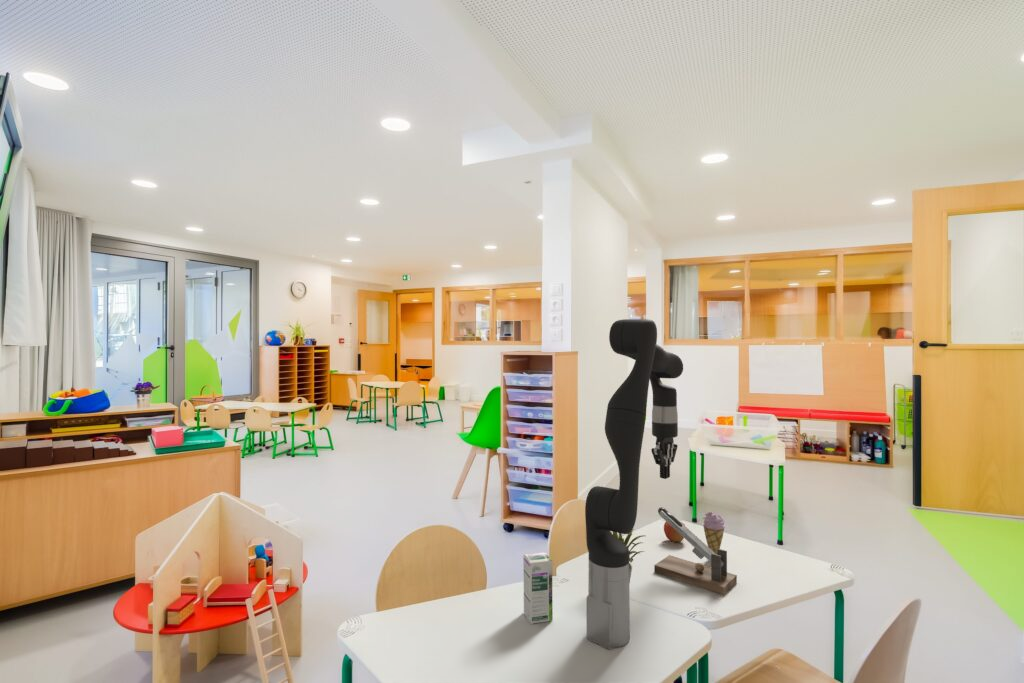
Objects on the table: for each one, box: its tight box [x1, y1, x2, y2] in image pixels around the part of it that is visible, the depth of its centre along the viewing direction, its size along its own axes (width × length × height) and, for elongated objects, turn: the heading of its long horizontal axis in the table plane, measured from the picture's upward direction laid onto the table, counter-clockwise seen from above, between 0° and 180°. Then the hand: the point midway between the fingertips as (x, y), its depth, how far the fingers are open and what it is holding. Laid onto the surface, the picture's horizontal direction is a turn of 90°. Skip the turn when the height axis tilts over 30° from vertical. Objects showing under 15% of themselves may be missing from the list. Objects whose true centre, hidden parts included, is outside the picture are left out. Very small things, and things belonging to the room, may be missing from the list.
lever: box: [657, 507, 725, 567], centre depth 141 cm, size 3×22×4 cm
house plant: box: [612, 528, 645, 585], centre depth 132 cm, size 14×14×16 cm
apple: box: [663, 521, 686, 543], centre depth 167 cm, size 7×7×8 cm
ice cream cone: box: [702, 510, 726, 554], centre depth 153 cm, size 7×6×15 cm
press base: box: [653, 548, 738, 596], centre depth 140 cm, size 10×20×9 cm, turn 47°
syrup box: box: [522, 551, 554, 625], centre depth 118 cm, size 6×6×14 cm
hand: (664, 477), depth 147 cm, fingers closed
